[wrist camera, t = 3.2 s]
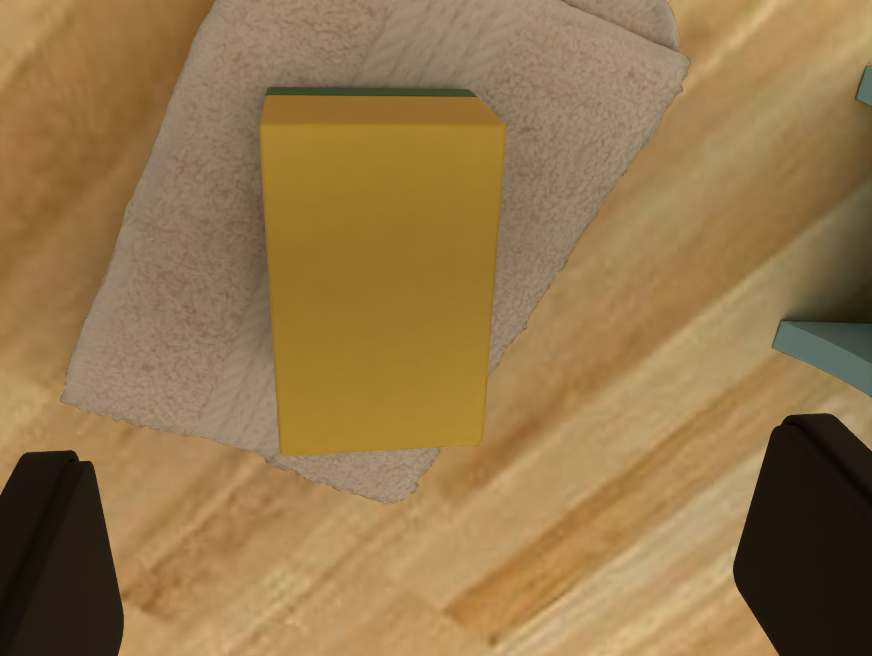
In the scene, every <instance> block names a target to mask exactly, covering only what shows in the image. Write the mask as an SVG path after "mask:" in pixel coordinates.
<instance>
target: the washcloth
mask: <svg viewBox="0 0 872 656" xmlns="http://www.w3.org/2000/svg"><path fill="white" fill-rule="evenodd" d="M679 39H680V38H679V35H678V31H677V26H676V21H675V17H674V13H673V11H672V8H671V6H670V5H669V4H668V2H667V1H666V0H215V2H214V3H213V5H212V7H211V10H210V12H209V13H208V14H207V16H206V17H205V19H204V20H203V22H202V23H201V25H200V26H199V29H198V31H197V34H196V36H195V37H194V39H193V41H192V44H191V47H190V51H189V54H188V56H187V58H186V60H185V62H184V65H183V68H182V70H181V72H180V75H179V78H178V80H177V82H176V84H175V87H174V90H173V92H172V95H171V98H170V101H169V104H168V106H167V108H166V112H165V115H164V118H163V121H162V123H161V125H160V128H159V131H158V133H157V136H156V140H155V143H154V145H153V147H152V150H151V153H150V156H149V158H148V160H147V163H146V166H145V169H144V171H143V174H142V176H141V178H140V180H139V182H138V184H137V186H136V188H135V193H134V195H133V197H132V199H131V200H130V202H129V203H128V205H127V207H126V209H125V214H124V217H123V220H122V224H121V230H120V233H119V235H118V237H117V240H116V243H115V247H114V250H113V253H112V256H111V258H110V261H109V264H108V266H107V269H106V272H105V274H104V278H103V281H102V283H101V286H100V288H99V291H98V293H97V295H96V297H95V299H94V301H93V303H92V306H91V308H90V311H89V313H88V316H87V317H86V318H85V321H84V324H83V328H82V330H81V333H80V335H79V338H78V342H77V344H76V347H75V349H74V351H73V354H72V356H71V359H70V363H69V367H68V371H67V373H66V382H65V389H64V391H63V394H62V395H61V397H60V402H62V403H66V404H71V405H75V406H77V407H79V409H81V410H85V411H87V412H91V413H95V414H97V415H100V416H104V417H110V418H112V419H113V420H115V421H126V422H129V423H130V424H133V425H138V426H140V427H147V428H150V429H154V430H162V431H165V432H167V433H169V434H181V435H183V436H186V435H191V434H192V435H196V436H200V437H202V438H206V439H212V440H214V441H216V442H218V443H220V444H224V445H229V446H235V447H237V448H239V449H242V450H247V451H252V450H253V451H256V452H257V453H259V454H260V455H261V456H263V457H264V458H265V462H266V463H268V464H269V465H270V466H272V467H274V468H280V469H281V470H283V471H292V472H294V473H295V474H296V475H299V476H303V478H304V479H305V478H309V479H310V480H311V481H313V482H315V483H320V484H326V485H331V486H332V487H333V488H334V489H337V490H339V491H340V490H343V491H347V492H350V493H352V494H357V495H360V496H363V497H365V498H367V499H371V500H375V501H379V502H380V503H382V504H388V503H391V504H394V503H397V502H398V501H401V500H404V499H405V498H406V496H407V495H409V494H412V493H414V492H415V491H416V490H417V488H418V487H419V486H418V484H417V480H418V478H419V477H421V476H422V475H424V473H425V472H426V471H427V470H428V469H429V467H430V466H432V463H433V462H434V460H435V457H436V456H437V455H438V454H439V452H440V447H439V448H422V449H405V450H388V451H371V452H354V453H337V454H320V455H303V456H286V457H283V456H281V454H280V449H279V433H278V418H277V403H276V387H275V372H274V357H273V341H272V326H271V311H270V295H269V280H268V265H267V249H266V234H265V219H264V203H263V188H262V173H261V157H260V142H259V123H260V119H261V114H262V109H263V105H264V100H265V95H266V91H267V88H269V87H308V88H404V89H469V90H471V91H472V92H473V93H474V94H475V95H476V96H477V98H479V99H480V100H481V101H482V102H483V103H484V104H485V105H486V106H487V107H488V108H489V109H490V110H491V111H492V112H493V113H494V114H495V115H496V116H497V117H498V118H499V119H500V120H501V121H502V122H503V123H504V124H505V125H506V141H505V154H504V167H503V180H502V193H501V206H500V219H499V232H498V245H497V258H496V271H495V285H494V298H493V311H492V324H491V337H490V350H489V363H488V375H489V374H490V373H491V371H493V370H494V369H495V368H496V367H497V366H498V364H499V361H500V358H501V357H502V355H503V353H504V351H505V350H506V348H507V346H508V345H509V344H511V343H512V342H513V340H514V339H515V338H516V336H517V335H518V334H519V333H521V332H522V331H523V330H525V329H526V328H527V325H526V323H527V319H528V318H529V316H530V313H531V312H532V311H533V309H534V308H535V307H536V304H537V302H539V300H540V299H541V298H542V296H543V295H544V293H545V291H546V290H547V289H548V288H549V286H550V283H551V282H552V281H553V280H554V276H555V274H556V273H557V272H559V271H560V270H562V269H563V267H564V265H565V264H566V262H567V258H568V256H569V255H570V253H571V252H572V251H573V248H574V245H575V244H576V242H577V241H578V239H579V238H580V236H581V233H582V231H583V230H585V229H586V228H587V226H588V224H589V223H590V222H591V221H592V220H593V219H594V218H595V217H596V216H597V214H598V210H599V208H600V207H601V206H602V205H603V204H604V203H605V201H606V198H607V196H608V194H609V193H610V192H611V191H612V188H613V185H614V183H615V182H616V178H617V177H618V176H622V175H624V174H625V173H626V170H627V168H628V167H629V165H630V164H631V163H632V161H633V160H634V159H635V157H636V155H637V153H638V151H639V149H641V148H643V147H645V146H646V145H647V144H648V139H649V136H650V135H651V134H652V133H654V132H655V130H656V128H657V126H658V125H659V124H660V123H661V121H662V115H663V114H664V112H665V111H666V110H667V109H668V108H669V106H670V105H671V103H672V102H673V100H674V98H675V96H676V95H678V94H679V93H681V92H682V91H683V88H682V85H681V82H682V81H683V80H684V79H685V78H686V77H687V76H688V68H689V66H690V64H691V60H690V59H689V58H687V57H686V56H685V55H683V54H681V53H679V52H678V50H679ZM487 377H488V376H487Z"/></svg>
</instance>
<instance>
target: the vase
mask: <svg viewBox="0 0 872 656" xmlns="http://www.w3.org/2000/svg"><path fill="white" fill-rule="evenodd" d="M856 99H858V100H860V101H862V102H864V103H866V104H868V105H870V106H872V67H870V66H867V67H866V70H865V73H864V76H863V79H862V82H861V85H860V88H859V91H858V94H857V97H856ZM773 348H774V349H776V350H778V351H781V352H783V353H785V354H787V355H790V356H792V357H794V358H797V359H799V360H802V361H804V362H806V363H809V364H811V365H813V366H815V367H817V368H819V369H821V370H823V371H825V372H828V373H830V374H832V375H834V376H836V377H838V378H839V379H841V380H843V381H845V382H846V383H848V384H850V385H852V386H853V387H855V388H857V389H859V390H861V391H862V392H864V393H866V394H867V395H869V396H870V397H871V398H872V324H868V323H837V322H805V321H781V324H780V327H779V330H778V333H777V335H776V338H775V341H774V344H773Z"/></svg>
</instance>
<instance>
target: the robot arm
mask: <svg viewBox="0 0 872 656" xmlns="http://www.w3.org/2000/svg"><path fill="white" fill-rule="evenodd" d="M733 574H734V580H735V583H736V586H737V588H738V590H739V592H740V593H741V595H742V597H743V598H744V600H745V601H746V603H747V605H748V606H749V608H750V609H751V611H752V613H753V614H754V616H755V617H756V619H757V620H758V622H759V624H760V625H761V627H762V628H763V630H764V632H765V633H766V635H767V636H768V638H769V640H770V641H771V643H772V644H773V646H774V648H775V649H776V651H777V652H778V654H779V656H872V451H871V450H870V449H869V448H868V447H866V446H865V445H864V444H863V443H862V442H861V441H860V440H859V439H858V438H857V437H856V436H855V435H854V434H853V433H852V432H851V431H850V430H849V429H848V428H847V427H846V426H845V425H844V424H843V423H842V422H841V421H840V420H839V419H837V418H836V417H835V416H833V415H832V414H827V413H821V414H801V415H790V416H787V417H786V418H785V419H784V420H783V422H782V424H781V426H777V427H775V428H774V429H773V431H772V433H771V436H770V439H769V443H768V446H767V450H766V453H765V456H764V460H763V463H762V467H761V470H760V474H759V477H758V481H757V484H756V488H755V491H754V494H753V498H752V501H751V505H750V508H749V512H748V515H747V519H746V522H745V526H744V529H743V533H742V536H741V539H740V543H739V546H738V550H737V553H736V557H735V560H734V565H733ZM123 629H124V614H123V607H122V602H121V597H120V592H119V587H118V583H117V578H116V573H115V568H114V563H113V558H112V553H111V548H110V543H109V538H108V533H107V528H106V523H105V518H104V514H103V509H102V504H101V499H100V494H99V489H98V484H97V479H96V474H95V470H94V466H93V464H92V462H90V461H79V459H78V456H77V454H76V453H75V452H74V451H72V450H67V451H47V452H27V453H25V454H23V455H22V456H21V458H20V459H19V461H18V463H17V465H16V467H15V469H14V470H13V472H12V474H11V476H10V478H9V480H8V482H7V484H6V485H5V487H4V489H3V491H2V493H1V495H0V656H118V653H119V649H120V645H121V641H122V637H123Z"/></svg>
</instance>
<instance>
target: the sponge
mask: <svg viewBox="0 0 872 656" xmlns="http://www.w3.org/2000/svg"><path fill="white" fill-rule="evenodd" d="M505 141H506V125H505V124H504V123H503V122H502V121H501V120H500V119H499V118H498V117H497V116H496V115H495V114H494V113H493V112H492V111H491V110H490V109H489V108H488V107H487V106H486V105H485V104H484V103H483V102H482V101H481V100H480V99H479V98H477V96H476V95H475V94H474V93H473V92H472V91H471V90H469V89H404V88H308V87H269V88H267V91H266V95H265V100H264V105H263V109H262V114H261V119H260V123H259V142H260V157H261V173H262V188H263V203H264V219H265V234H266V249H267V265H268V280H269V295H270V311H271V326H272V341H273V357H274V372H275V387H276V403H277V418H278V433H279V449H280V454H281V456H283V457H286V456H303V455H320V454H337V453H354V452H371V451H388V450H405V449H422V448H439V447H456V446H474V445H481V444H482V441H483V428H484V415H485V402H486V389H487V376H488V363H489V350H490V337H491V324H492V311H493V298H494V285H495V271H496V258H497V245H498V232H499V219H500V206H501V193H502V180H503V167H504V154H505Z"/></svg>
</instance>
